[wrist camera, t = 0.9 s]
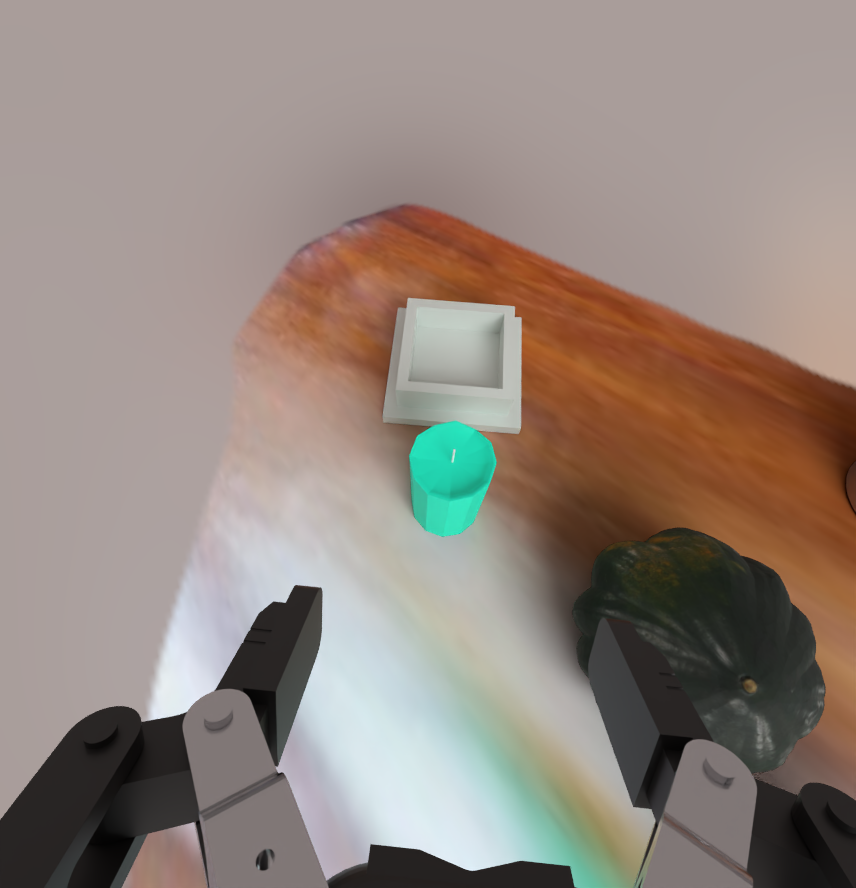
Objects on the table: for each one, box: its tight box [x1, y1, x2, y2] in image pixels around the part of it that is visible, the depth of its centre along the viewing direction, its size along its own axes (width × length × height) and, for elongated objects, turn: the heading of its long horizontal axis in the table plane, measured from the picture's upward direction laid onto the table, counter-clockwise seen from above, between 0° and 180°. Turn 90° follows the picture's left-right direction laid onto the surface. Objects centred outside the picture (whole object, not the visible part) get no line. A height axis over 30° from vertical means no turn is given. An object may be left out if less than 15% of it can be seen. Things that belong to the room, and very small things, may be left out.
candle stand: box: [382, 298, 521, 434], centre depth 45 cm, size 13×13×4 cm
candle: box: [409, 420, 497, 537], centre depth 36 cm, size 6×6×12 cm
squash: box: [572, 528, 825, 773], centre depth 31 cm, size 14×15×15 cm
